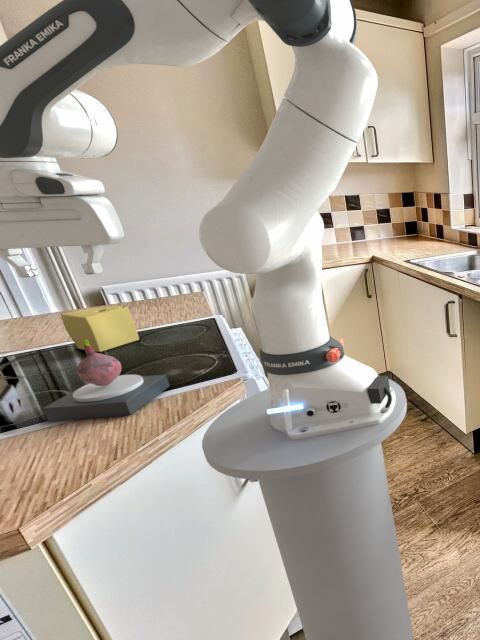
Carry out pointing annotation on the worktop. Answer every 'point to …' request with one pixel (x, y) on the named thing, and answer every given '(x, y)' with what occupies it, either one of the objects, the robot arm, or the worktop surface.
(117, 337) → the cheese
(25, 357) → the worktop surface
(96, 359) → the vegetable
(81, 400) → the scale
